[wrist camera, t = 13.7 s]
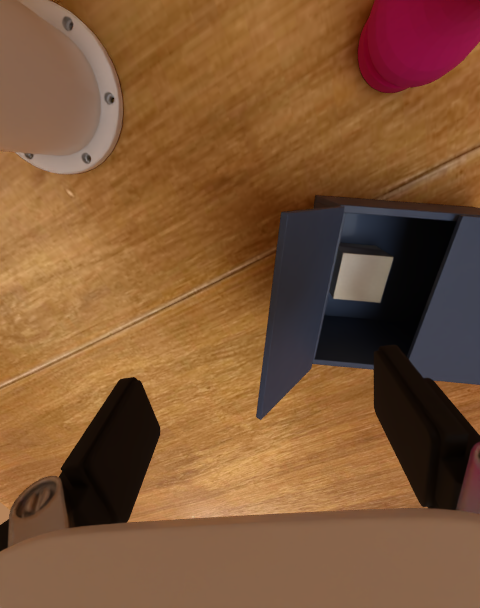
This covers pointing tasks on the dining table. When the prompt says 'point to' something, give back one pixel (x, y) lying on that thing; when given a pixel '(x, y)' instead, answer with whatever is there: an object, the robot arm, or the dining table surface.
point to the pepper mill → (416, 41)
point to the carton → (410, 289)
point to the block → (360, 273)
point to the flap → (297, 299)
